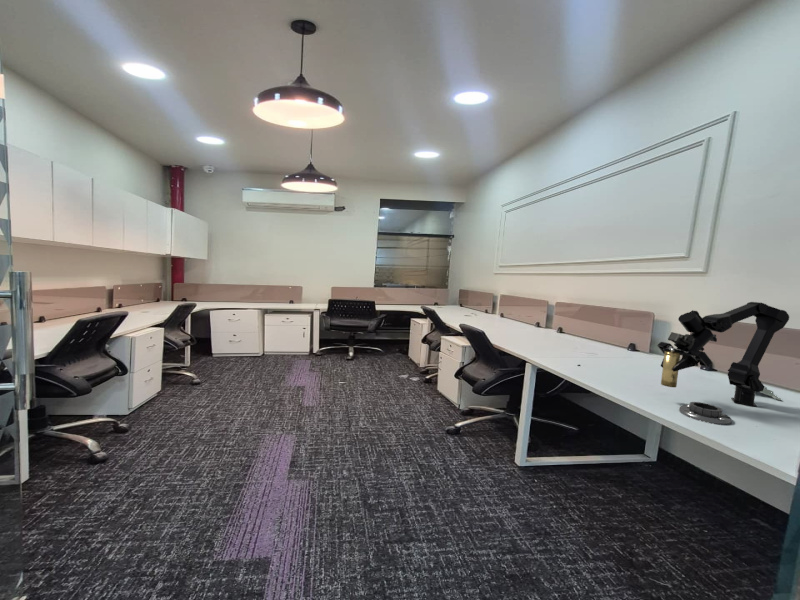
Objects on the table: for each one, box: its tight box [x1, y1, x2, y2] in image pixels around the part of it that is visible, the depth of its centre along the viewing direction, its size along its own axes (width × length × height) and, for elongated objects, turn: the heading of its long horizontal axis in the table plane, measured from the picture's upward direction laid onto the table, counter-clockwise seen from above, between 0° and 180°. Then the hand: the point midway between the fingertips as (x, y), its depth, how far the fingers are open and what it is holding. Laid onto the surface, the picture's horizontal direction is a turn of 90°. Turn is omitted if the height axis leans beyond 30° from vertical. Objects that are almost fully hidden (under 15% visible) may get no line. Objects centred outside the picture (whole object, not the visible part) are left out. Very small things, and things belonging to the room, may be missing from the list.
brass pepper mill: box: [660, 347, 681, 388], centre depth 136 cm, size 5×5×14 cm
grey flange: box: [678, 401, 733, 426], centre depth 124 cm, size 14×14×4 cm
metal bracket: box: [734, 385, 782, 401], centre depth 154 cm, size 14×6×15 cm
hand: (667, 368), depth 136 cm, fingers closed on brass pepper mill, 5 cm apart
